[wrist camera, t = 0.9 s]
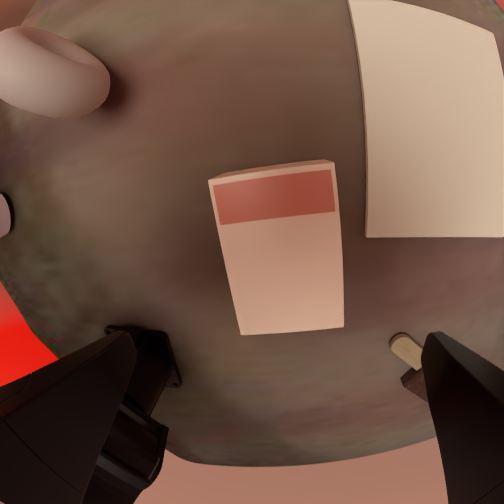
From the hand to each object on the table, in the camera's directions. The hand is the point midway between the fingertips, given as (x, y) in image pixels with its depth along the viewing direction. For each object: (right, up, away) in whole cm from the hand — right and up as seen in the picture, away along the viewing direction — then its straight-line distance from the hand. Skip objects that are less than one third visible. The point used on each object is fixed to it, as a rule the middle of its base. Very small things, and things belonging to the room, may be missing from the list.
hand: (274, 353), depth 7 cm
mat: (+12, +11, +6) cm, 17 cm away
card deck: (+1, +4, +10) cm, 11 cm away
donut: (-12, +16, +8) cm, 21 cm away
